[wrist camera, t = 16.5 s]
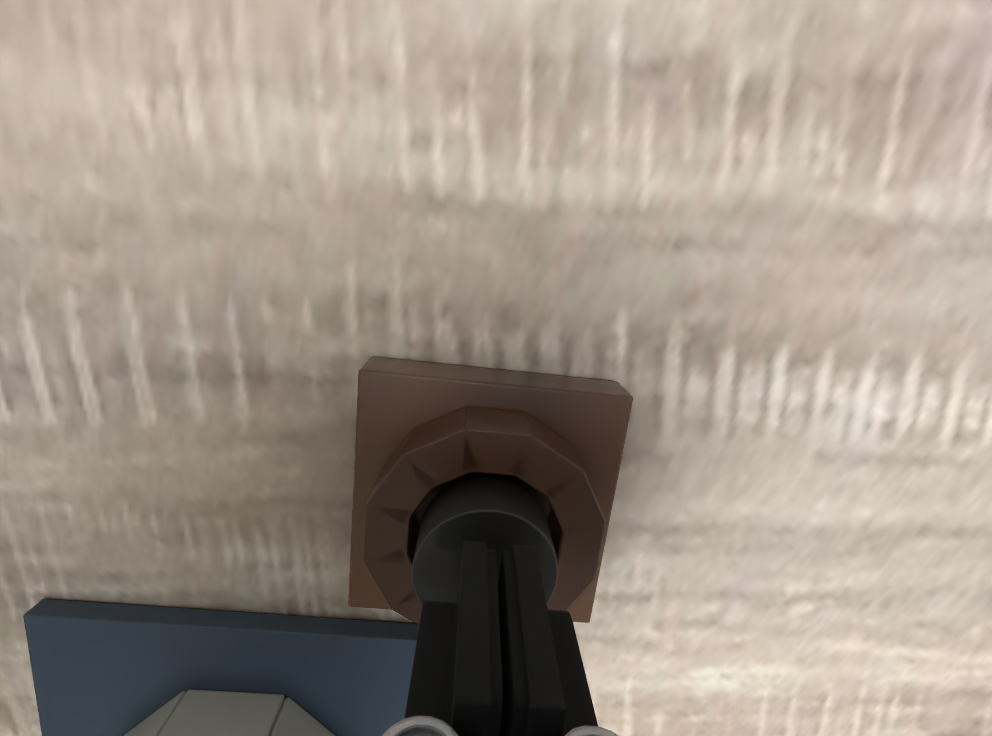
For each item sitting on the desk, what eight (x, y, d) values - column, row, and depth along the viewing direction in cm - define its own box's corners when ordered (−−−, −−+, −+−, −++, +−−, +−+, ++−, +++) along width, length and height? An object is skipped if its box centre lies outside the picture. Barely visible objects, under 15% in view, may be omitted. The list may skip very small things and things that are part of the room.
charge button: (415, 584, 14) (406, 631, 12) (424, 469, 13) (417, 504, 11) (539, 592, 14) (547, 641, 12) (557, 481, 13) (568, 516, 11)
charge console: (360, 572, 17) (330, 653, 14) (371, 355, 15) (340, 388, 12) (579, 588, 18) (603, 670, 14) (617, 380, 16) (656, 418, 12)
